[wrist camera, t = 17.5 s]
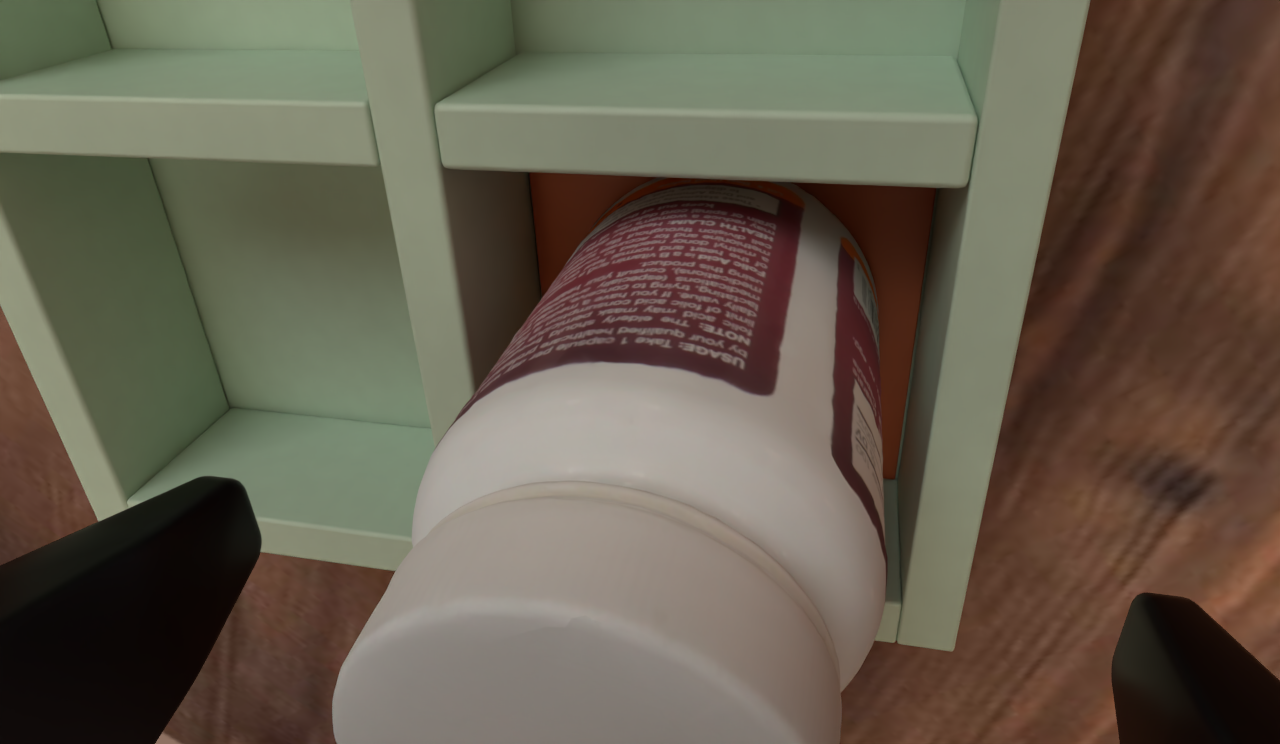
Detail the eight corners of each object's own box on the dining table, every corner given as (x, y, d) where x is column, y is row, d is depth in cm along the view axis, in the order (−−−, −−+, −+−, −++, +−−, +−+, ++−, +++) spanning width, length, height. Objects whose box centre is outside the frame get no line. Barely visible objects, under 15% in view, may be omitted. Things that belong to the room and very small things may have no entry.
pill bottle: (524, 323, 15) (204, 763, 8) (689, 90, 12) (435, 433, 5) (749, 482, 15) (644, 1022, 8) (951, 293, 13) (1043, 842, 6)
